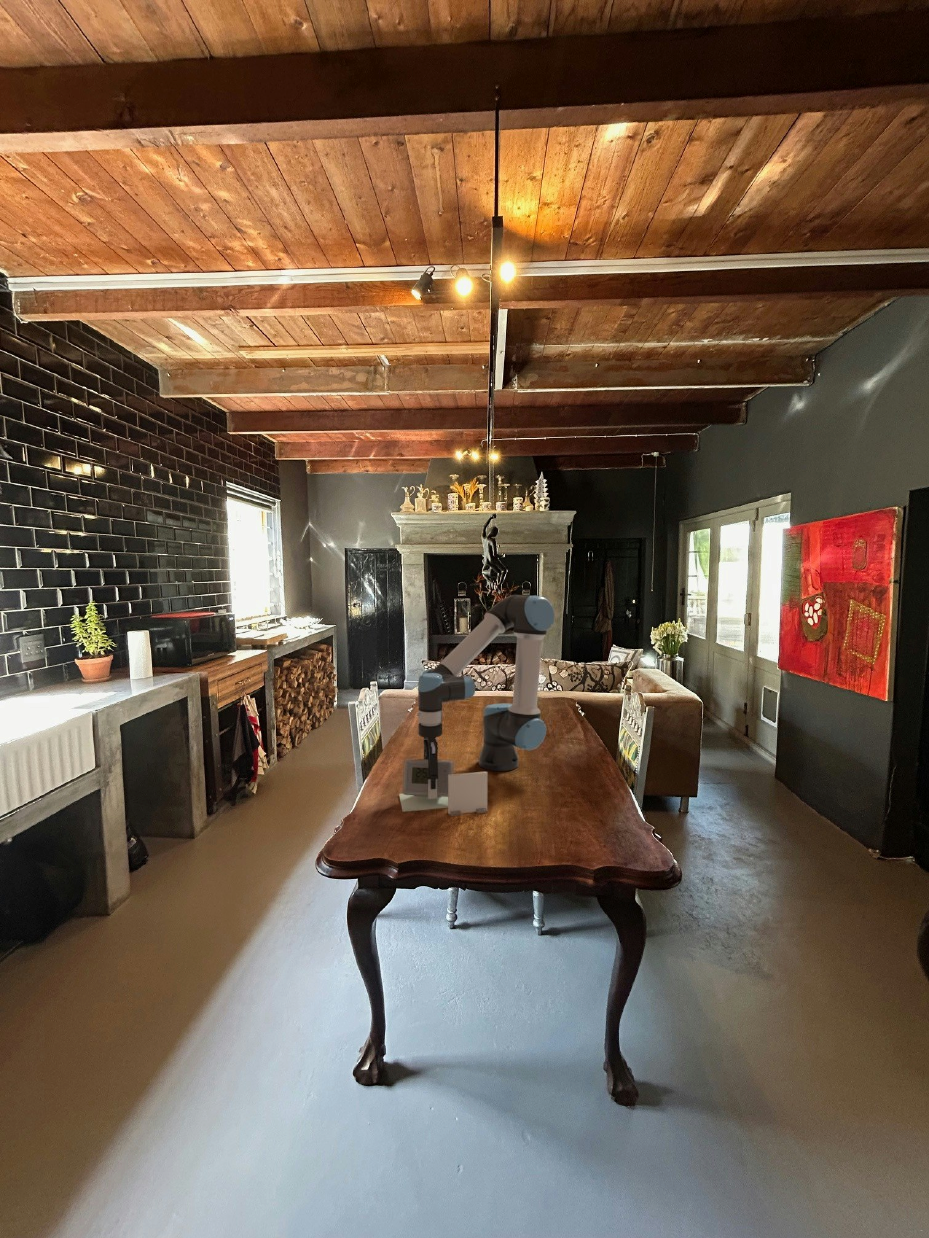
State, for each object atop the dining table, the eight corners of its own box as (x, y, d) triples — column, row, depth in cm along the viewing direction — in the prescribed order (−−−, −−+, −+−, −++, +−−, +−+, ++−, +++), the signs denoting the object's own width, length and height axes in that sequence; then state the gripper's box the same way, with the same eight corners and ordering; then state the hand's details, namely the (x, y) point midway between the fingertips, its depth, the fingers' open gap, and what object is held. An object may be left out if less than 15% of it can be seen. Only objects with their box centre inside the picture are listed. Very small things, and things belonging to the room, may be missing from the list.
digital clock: (399, 795, 169) (399, 763, 168) (411, 785, 177) (410, 753, 176) (448, 802, 164) (448, 769, 163) (457, 791, 173) (457, 759, 172)
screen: (485, 807, 166) (485, 770, 165) (488, 812, 163) (488, 774, 162) (447, 810, 164) (447, 772, 163) (449, 816, 160) (449, 777, 159)
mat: (456, 790, 179) (456, 789, 179) (463, 806, 167) (463, 804, 167) (399, 795, 175) (399, 793, 175) (402, 811, 163) (402, 809, 163)
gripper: (414, 714, 178) (415, 780, 180) (422, 733, 158) (423, 807, 160) (437, 713, 180) (437, 778, 182) (447, 731, 159) (447, 805, 161)
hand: (430, 792), depth 171 cm, fingers closed on digital clock, 8 cm apart
